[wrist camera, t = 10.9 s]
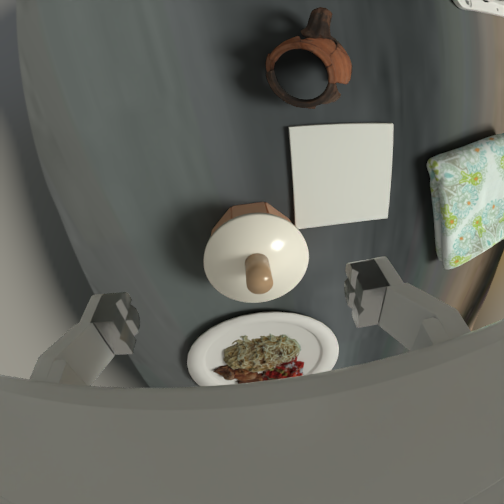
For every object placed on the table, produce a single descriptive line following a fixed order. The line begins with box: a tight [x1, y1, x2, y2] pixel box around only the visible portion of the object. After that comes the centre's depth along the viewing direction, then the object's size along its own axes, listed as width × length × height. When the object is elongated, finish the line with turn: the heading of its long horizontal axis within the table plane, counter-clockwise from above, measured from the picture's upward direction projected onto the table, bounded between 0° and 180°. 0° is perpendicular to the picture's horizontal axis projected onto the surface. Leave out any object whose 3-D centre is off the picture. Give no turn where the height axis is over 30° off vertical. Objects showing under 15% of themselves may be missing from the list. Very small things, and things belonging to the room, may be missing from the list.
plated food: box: [187, 311, 339, 387], centre depth 56 cm, size 30×30×3 cm
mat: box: [288, 123, 393, 229], centre depth 37 cm, size 14×14×1 cm
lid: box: [204, 213, 309, 303], centre depth 36 cm, size 13×13×5 cm
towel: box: [427, 133, 504, 269], centre depth 39 cm, size 18×21×5 cm
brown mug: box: [266, 7, 352, 109], centre depth 27 cm, size 12×10×8 cm
